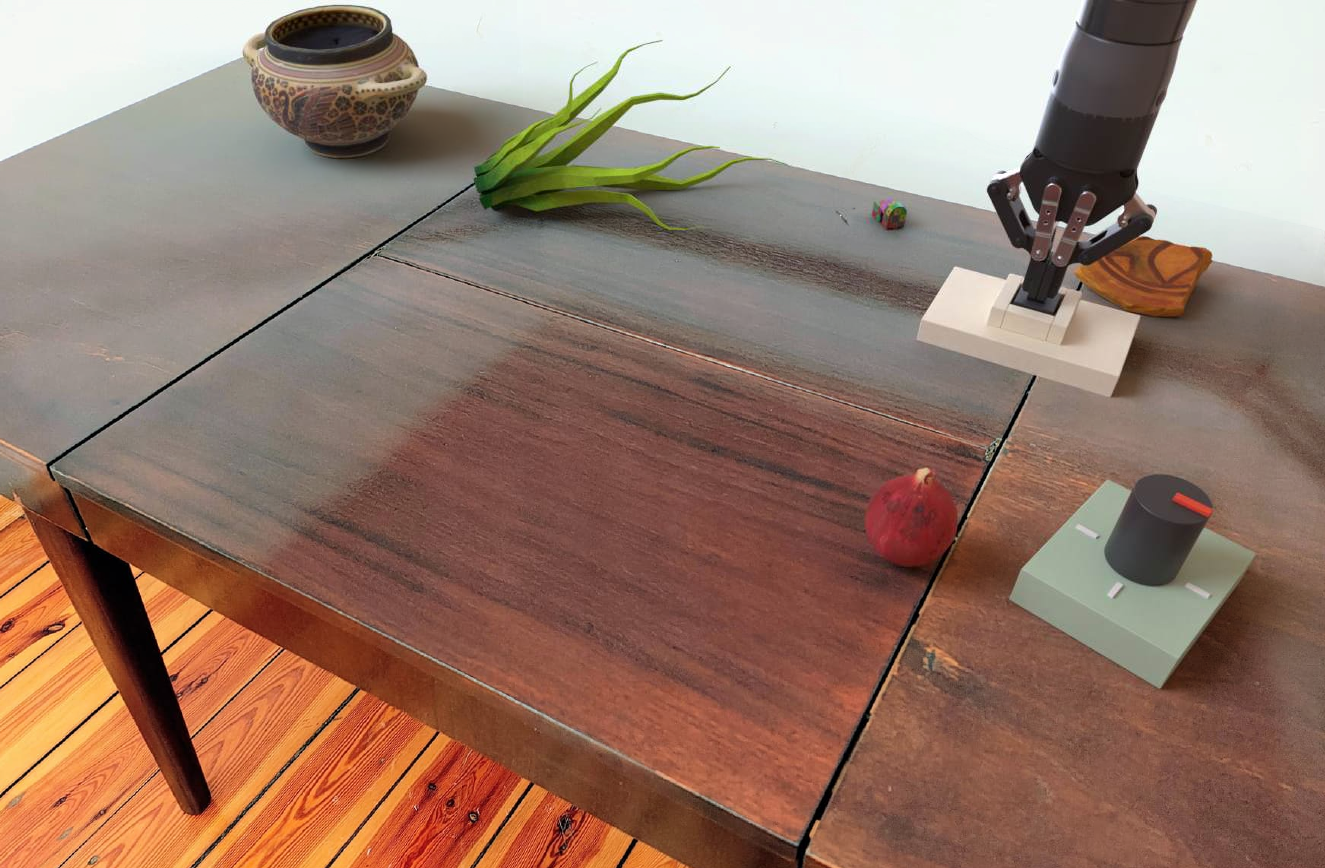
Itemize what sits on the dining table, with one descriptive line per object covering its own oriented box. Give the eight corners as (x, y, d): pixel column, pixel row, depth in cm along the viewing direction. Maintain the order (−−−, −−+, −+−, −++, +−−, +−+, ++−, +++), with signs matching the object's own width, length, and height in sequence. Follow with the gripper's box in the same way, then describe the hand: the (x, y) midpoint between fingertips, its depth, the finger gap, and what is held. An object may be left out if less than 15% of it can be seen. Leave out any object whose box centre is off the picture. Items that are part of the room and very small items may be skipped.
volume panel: (1093, 509, 73) (1108, 477, 71) (1237, 584, 68) (1258, 551, 66) (1008, 599, 67) (1022, 566, 65) (1159, 689, 62) (1180, 657, 60)
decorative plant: (756, 265, 98) (774, 115, 88) (466, 220, 104) (452, 75, 94) (785, 181, 111) (805, 41, 101) (525, 145, 117) (519, 10, 107)
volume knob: (1092, 561, 66) (1123, 495, 62) (1121, 525, 68) (1153, 459, 64) (1161, 597, 63) (1198, 531, 59) (1188, 559, 66) (1226, 493, 62)
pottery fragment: (1218, 247, 94) (1202, 278, 87) (1198, 294, 97) (1181, 328, 90) (1104, 219, 99) (1080, 247, 92) (1087, 265, 101) (1063, 295, 94)
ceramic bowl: (238, 155, 122) (178, 38, 109) (341, 72, 129) (295, -46, 116) (385, 217, 111) (335, 95, 99) (488, 123, 118) (454, -2, 106)
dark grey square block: (1017, 300, 89) (1023, 283, 88) (1055, 311, 88) (1062, 293, 87) (1008, 318, 87) (1014, 301, 86) (1047, 329, 86) (1053, 312, 85)
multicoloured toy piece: (912, 225, 103) (917, 204, 102) (886, 229, 103) (890, 207, 101) (893, 206, 106) (897, 185, 105) (867, 209, 106) (871, 188, 104)
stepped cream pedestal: (949, 286, 95) (959, 248, 92) (1132, 336, 89) (1148, 297, 86) (915, 340, 89) (926, 300, 86) (1110, 398, 83) (1127, 357, 80)
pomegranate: (937, 601, 67) (967, 514, 62) (849, 578, 69) (871, 491, 63) (947, 541, 71) (976, 454, 66) (864, 520, 73) (885, 434, 67)
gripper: (1213, 92, 74) (1128, 297, 86) (1026, 57, 79) (970, 256, 91) (1198, 131, 70) (1111, 342, 81) (1001, 91, 75) (946, 296, 86)
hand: (1037, 296), depth 86 cm, fingers closed
